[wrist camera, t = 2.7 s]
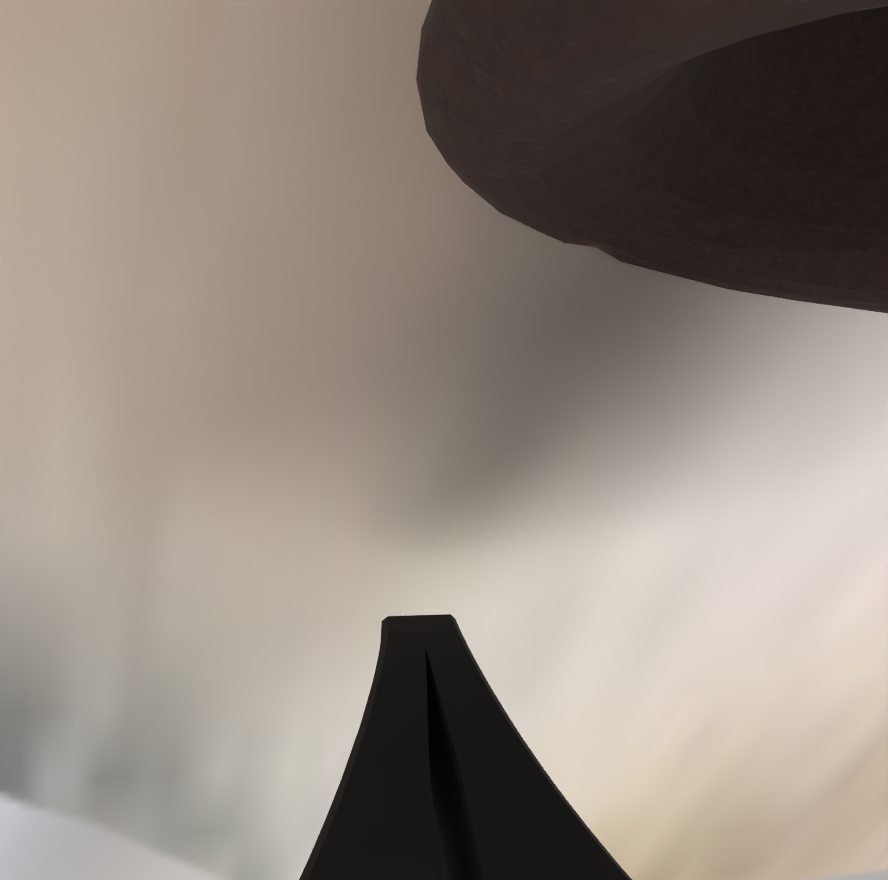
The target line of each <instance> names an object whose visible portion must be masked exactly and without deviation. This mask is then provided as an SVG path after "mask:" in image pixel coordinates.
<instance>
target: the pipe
mask: <svg viewBox="0 0 888 880" xmlns="http://www.w3.org/2000/svg"><path fill="white" fill-rule="evenodd" d="M416 80H417V85H418V90H419V95H420V100H421V105H422V110H423V115H424V120H425V125H426V130H427V132H428V134H429V136H430V137H431V139H432V140H433V142H434V143H435V145H436V146H437V148H438V150H439V151H440V153H441V154H442V156H443V157H444V159H445V161H446V162H447V164H448V165H449V166H450V167H451V168H452V169H453V171H454V172H455V173H456V174H457V175H458V176H459V177H460V178H461V180H462V181H463V182H464V183H465V184H467V185H468V186H469V187H470V188H471V189H473V190H474V191H475V192H476V193H477V194H479V195H480V196H481V197H482V198H483V199H485V200H486V201H487V202H488V203H489V204H491V205H492V206H493V207H494V208H495V209H497V210H498V211H499V212H500V213H502V214H504V215H506V216H508V217H510V218H513V219H515V220H517V221H519V222H521V223H523V224H525V225H527V226H529V227H531V228H533V229H535V230H537V231H539V232H541V233H544V234H546V235H548V236H550V237H553V238H555V239H557V240H560V241H562V242H564V243H571V244H578V245H585V246H592V247H597V248H599V249H601V250H602V251H604V252H606V253H607V254H609V255H611V256H613V257H614V258H616V259H618V260H619V261H621V262H625V263H629V264H633V265H636V266H640V267H644V268H648V269H652V270H656V271H660V272H664V273H668V274H672V275H675V276H679V277H683V278H687V279H691V280H695V281H699V282H703V283H707V284H711V285H714V286H718V287H722V288H726V289H731V290H737V291H743V292H749V293H755V294H761V295H767V296H773V297H778V298H784V299H790V300H797V301H804V302H811V303H818V304H825V305H833V306H840V307H847V308H854V309H861V310H869V311H876V312H883V313H888V0H432V2H431V5H430V8H429V11H428V13H427V16H426V19H425V21H424V24H423V27H422V30H421V40H420V49H419V59H418V69H417V78H416Z"/></svg>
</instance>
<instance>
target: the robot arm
mask: <svg viewBox="0 0 888 880" xmlns="http://www.w3.org/2000/svg"><path fill="white" fill-rule="evenodd" d="M299 880H632V879H631V878H630V877H629V876H628V875H627V873H626V872H625V871H624V870H623V869H622V868H621V867H620V865H619V864H618V863H617V862H616V861H615V860H614V858H613V857H612V856H611V855H610V853H609V852H608V851H607V850H606V849H605V847H604V846H603V845H602V844H601V843H600V841H599V840H598V839H597V838H596V837H595V835H594V834H593V833H592V832H591V830H590V829H589V828H588V827H587V826H586V824H585V823H584V822H583V820H582V819H581V818H580V817H579V815H578V814H577V813H576V811H575V810H574V809H573V808H572V806H571V805H570V804H569V802H568V801H567V800H566V799H565V797H564V796H563V795H562V793H561V792H560V791H559V789H558V788H557V787H556V785H555V784H554V783H553V781H552V780H551V778H550V777H549V776H548V774H547V773H546V771H545V770H544V769H543V767H542V766H541V764H540V763H539V761H538V760H537V759H536V757H535V756H534V754H533V753H532V751H531V750H530V748H529V747H528V746H527V744H526V743H525V741H524V740H523V738H522V737H521V735H520V734H519V732H518V731H517V729H516V727H515V726H514V724H513V723H512V721H511V720H510V718H509V716H508V715H507V713H506V712H505V710H504V708H503V707H502V705H501V703H500V702H499V700H498V699H497V697H496V695H495V694H494V692H493V690H492V689H491V687H490V685H489V684H488V682H487V680H486V678H485V677H484V675H483V673H482V671H481V670H480V668H479V666H478V664H477V662H476V660H475V659H474V657H473V655H472V653H471V651H470V649H469V647H468V645H467V643H466V641H465V639H464V637H463V635H462V633H461V631H460V629H459V626H458V624H457V622H456V620H455V618H454V617H453V616H452V615H450V614H448V615H416V616H388V617H387V618H385V619H384V620H383V621H382V627H381V644H380V650H379V656H378V661H377V666H376V670H375V675H374V679H373V683H372V687H371V690H370V694H369V697H368V701H367V704H366V708H365V711H364V715H363V718H362V721H361V725H360V728H359V731H358V734H357V737H356V739H355V742H354V745H353V748H352V751H351V754H350V756H349V759H348V762H347V765H346V768H345V771H344V774H343V776H342V779H341V782H340V784H339V787H338V789H337V792H336V795H335V797H334V800H333V802H332V805H331V807H330V810H329V812H328V815H327V817H326V820H325V822H324V824H323V827H322V829H321V831H320V834H319V836H318V839H317V841H316V843H315V846H314V848H313V850H312V853H311V855H310V857H309V859H308V862H307V864H306V866H305V868H304V871H303V873H302V875H301V877H300V879H299Z"/></svg>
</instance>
